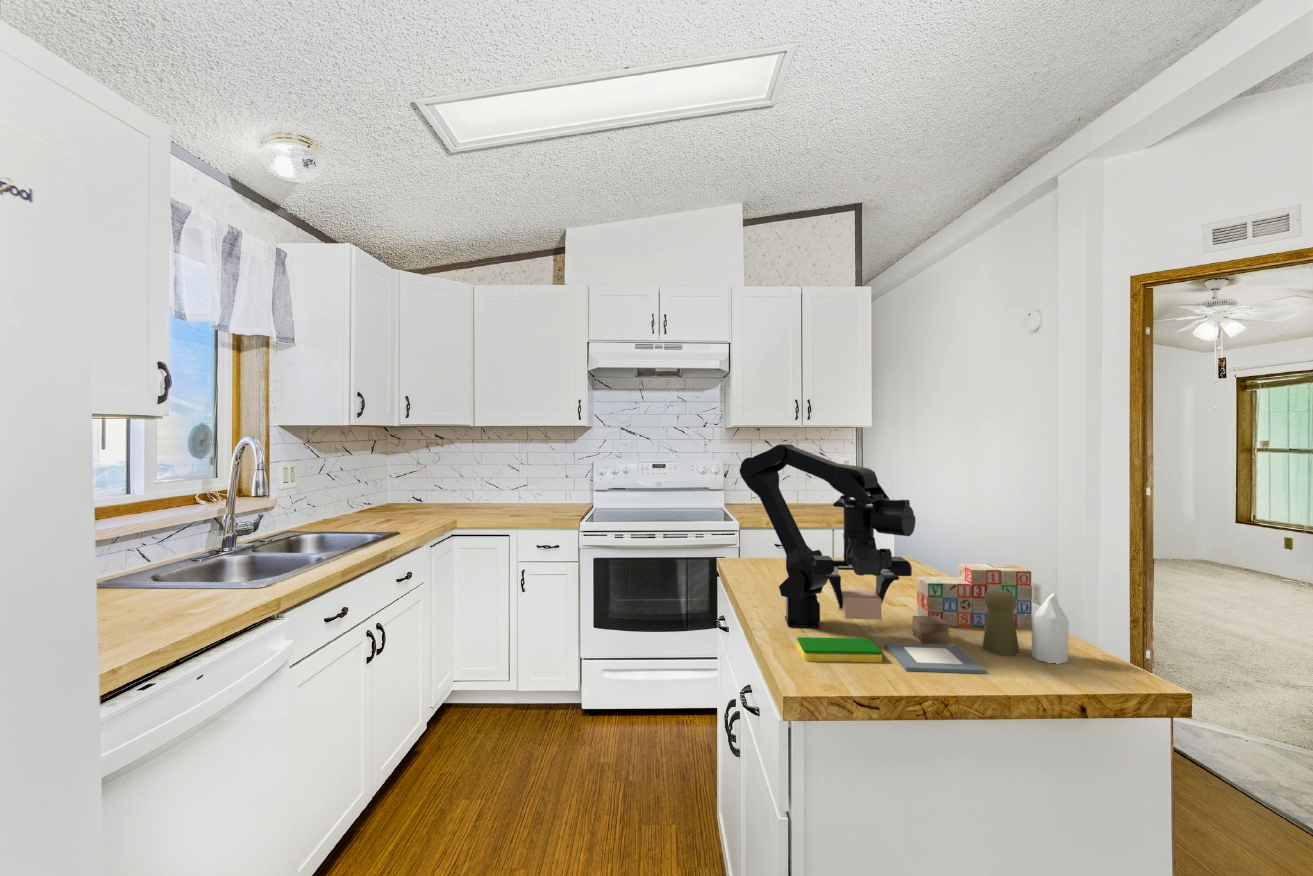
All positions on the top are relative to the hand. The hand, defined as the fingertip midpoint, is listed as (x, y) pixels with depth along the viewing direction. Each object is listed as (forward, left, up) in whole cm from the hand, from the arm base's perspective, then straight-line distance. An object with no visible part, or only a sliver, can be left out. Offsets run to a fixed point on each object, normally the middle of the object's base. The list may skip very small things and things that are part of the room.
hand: (859, 608), depth 115 cm
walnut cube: (+14, +1, -6) cm, 15 cm away
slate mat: (+10, -10, -6) cm, 16 cm away
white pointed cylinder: (+32, -8, -6) cm, 33 cm away
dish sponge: (-6, -9, -7) cm, 13 cm away
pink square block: (0, 0, -1) cm, 1 cm away
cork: (+25, -4, -6) cm, 26 cm away
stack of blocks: (+27, +13, -6) cm, 31 cm away
